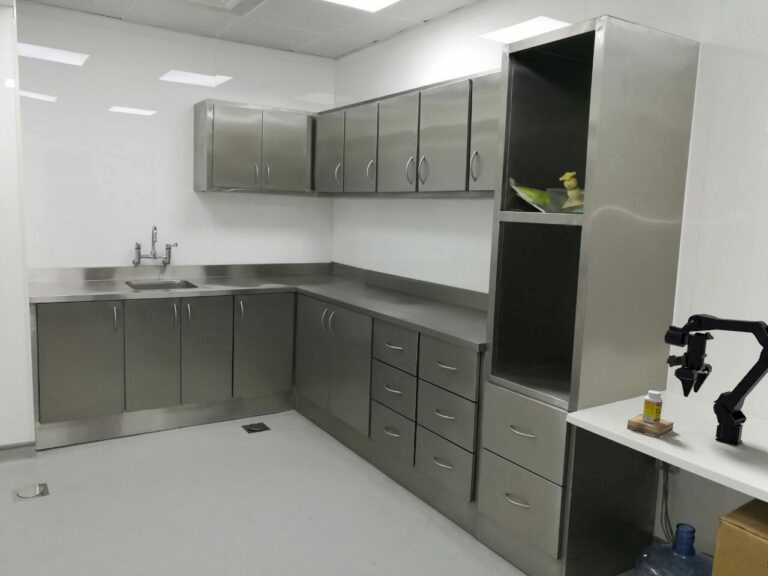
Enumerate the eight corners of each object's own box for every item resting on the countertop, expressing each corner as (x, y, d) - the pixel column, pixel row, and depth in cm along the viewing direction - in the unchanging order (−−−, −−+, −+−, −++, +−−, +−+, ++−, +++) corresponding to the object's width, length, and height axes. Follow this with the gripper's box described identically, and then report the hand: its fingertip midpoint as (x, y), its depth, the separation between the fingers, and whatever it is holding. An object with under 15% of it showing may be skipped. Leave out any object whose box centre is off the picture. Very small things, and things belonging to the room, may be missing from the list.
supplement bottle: (655, 425, 211) (659, 395, 209) (639, 420, 215) (642, 391, 213) (662, 421, 214) (666, 392, 213) (646, 417, 218) (649, 388, 217)
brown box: (672, 430, 215) (673, 422, 215) (659, 437, 207) (660, 429, 207) (640, 422, 223) (641, 413, 222) (627, 428, 215) (628, 419, 214)
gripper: (681, 342, 228) (676, 384, 230) (661, 348, 215) (656, 393, 216) (714, 349, 220) (709, 392, 222) (695, 355, 207) (690, 401, 209)
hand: (690, 394), depth 217 cm, fingers open, 9 cm apart
